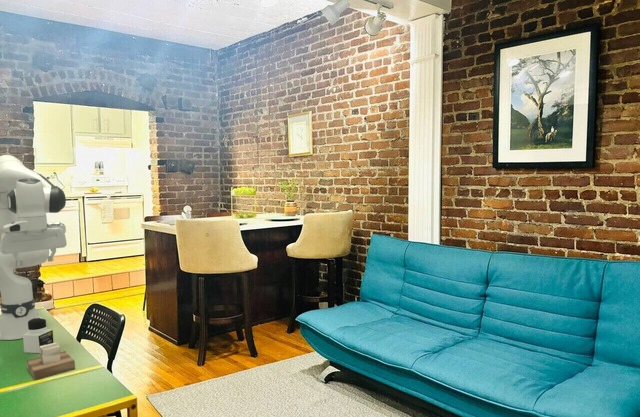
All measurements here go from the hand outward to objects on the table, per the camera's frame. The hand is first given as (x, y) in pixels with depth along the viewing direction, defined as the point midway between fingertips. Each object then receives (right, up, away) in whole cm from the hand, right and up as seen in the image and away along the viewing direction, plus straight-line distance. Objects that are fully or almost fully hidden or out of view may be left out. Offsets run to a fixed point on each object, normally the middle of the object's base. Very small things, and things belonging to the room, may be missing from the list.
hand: (35, 263), depth 170 cm
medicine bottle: (-6, -35, +13) cm, 37 cm away
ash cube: (+9, -33, -6) cm, 34 cm away
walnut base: (+9, -36, -6) cm, 37 cm away
